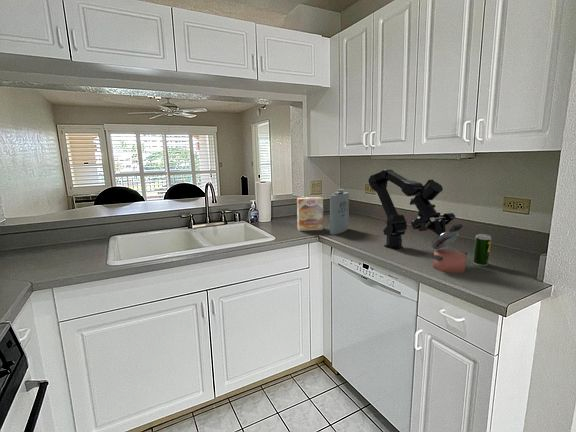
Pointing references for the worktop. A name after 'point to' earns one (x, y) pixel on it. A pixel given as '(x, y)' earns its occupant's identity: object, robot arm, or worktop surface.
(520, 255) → the worktop surface
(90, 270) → the worktop surface
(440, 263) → the cooker pot
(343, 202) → the flask
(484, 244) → the beer can
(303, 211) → the coffeecake box
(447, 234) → the cooker lid
